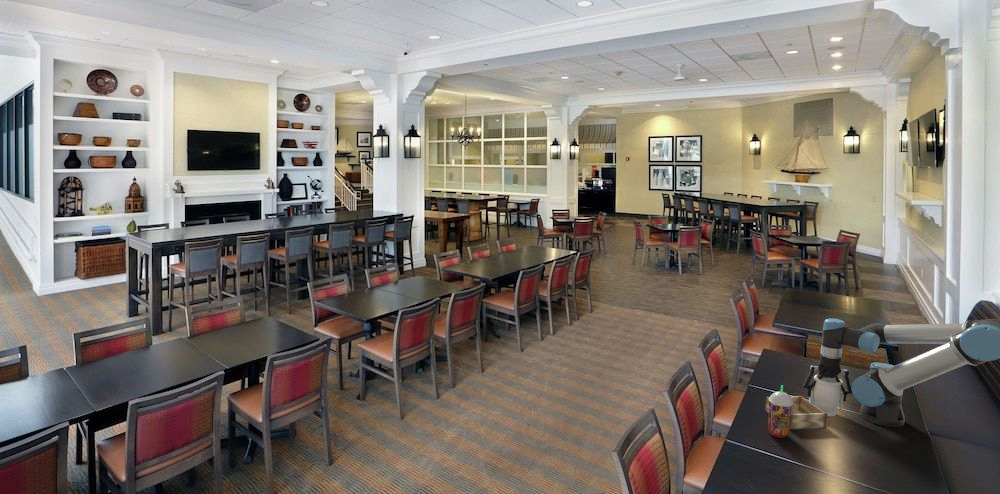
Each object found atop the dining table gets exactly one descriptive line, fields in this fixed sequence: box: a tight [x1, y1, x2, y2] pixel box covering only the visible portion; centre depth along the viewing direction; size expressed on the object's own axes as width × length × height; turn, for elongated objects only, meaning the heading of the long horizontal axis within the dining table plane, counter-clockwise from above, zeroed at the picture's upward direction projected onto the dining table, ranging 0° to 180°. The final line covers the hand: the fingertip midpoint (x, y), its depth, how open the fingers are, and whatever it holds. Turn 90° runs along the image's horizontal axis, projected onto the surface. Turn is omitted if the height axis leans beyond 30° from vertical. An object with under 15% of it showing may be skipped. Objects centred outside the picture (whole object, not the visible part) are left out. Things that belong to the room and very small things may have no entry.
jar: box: [812, 373, 844, 417], centre depth 228 cm, size 11×10×15 cm
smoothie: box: [767, 384, 793, 439], centre depth 208 cm, size 8×8×20 cm
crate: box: [764, 395, 828, 430], centre depth 222 cm, size 16×17×6 cm
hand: (825, 406), depth 229 cm, fingers closed on jar, 10 cm apart
